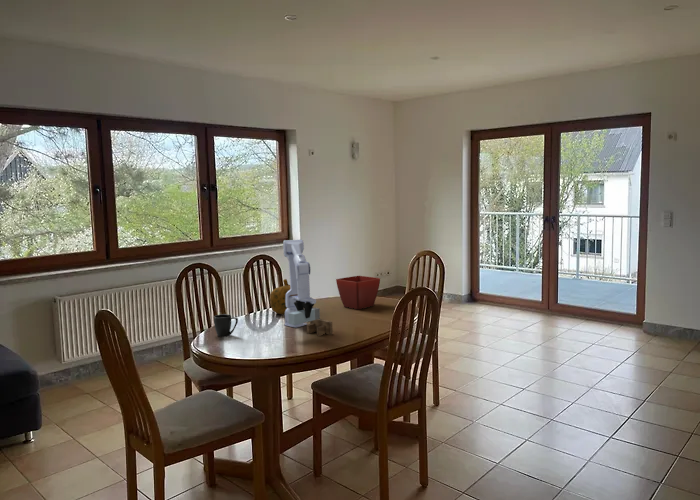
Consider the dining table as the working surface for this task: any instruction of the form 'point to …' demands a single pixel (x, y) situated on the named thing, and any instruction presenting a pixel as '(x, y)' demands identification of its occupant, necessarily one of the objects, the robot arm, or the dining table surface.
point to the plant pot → (358, 291)
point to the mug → (223, 324)
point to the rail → (303, 316)
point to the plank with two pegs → (320, 327)
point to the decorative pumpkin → (279, 298)
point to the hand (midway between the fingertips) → (304, 317)
